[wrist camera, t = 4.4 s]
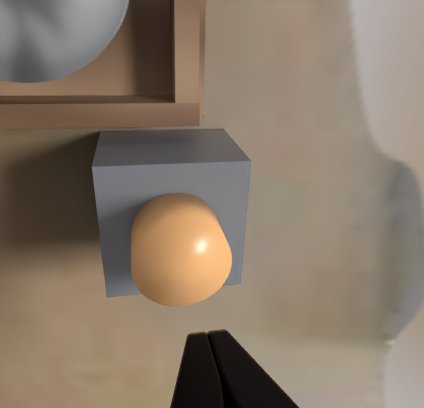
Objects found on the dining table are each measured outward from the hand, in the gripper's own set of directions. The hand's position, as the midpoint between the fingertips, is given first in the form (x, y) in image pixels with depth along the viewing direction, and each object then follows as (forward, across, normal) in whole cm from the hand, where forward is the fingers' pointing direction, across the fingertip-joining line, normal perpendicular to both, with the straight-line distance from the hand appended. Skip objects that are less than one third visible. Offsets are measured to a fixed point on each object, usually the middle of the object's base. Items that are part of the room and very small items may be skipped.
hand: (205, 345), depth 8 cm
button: (+5, 0, 0) cm, 5 cm away
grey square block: (+9, 0, 0) cm, 9 cm away
